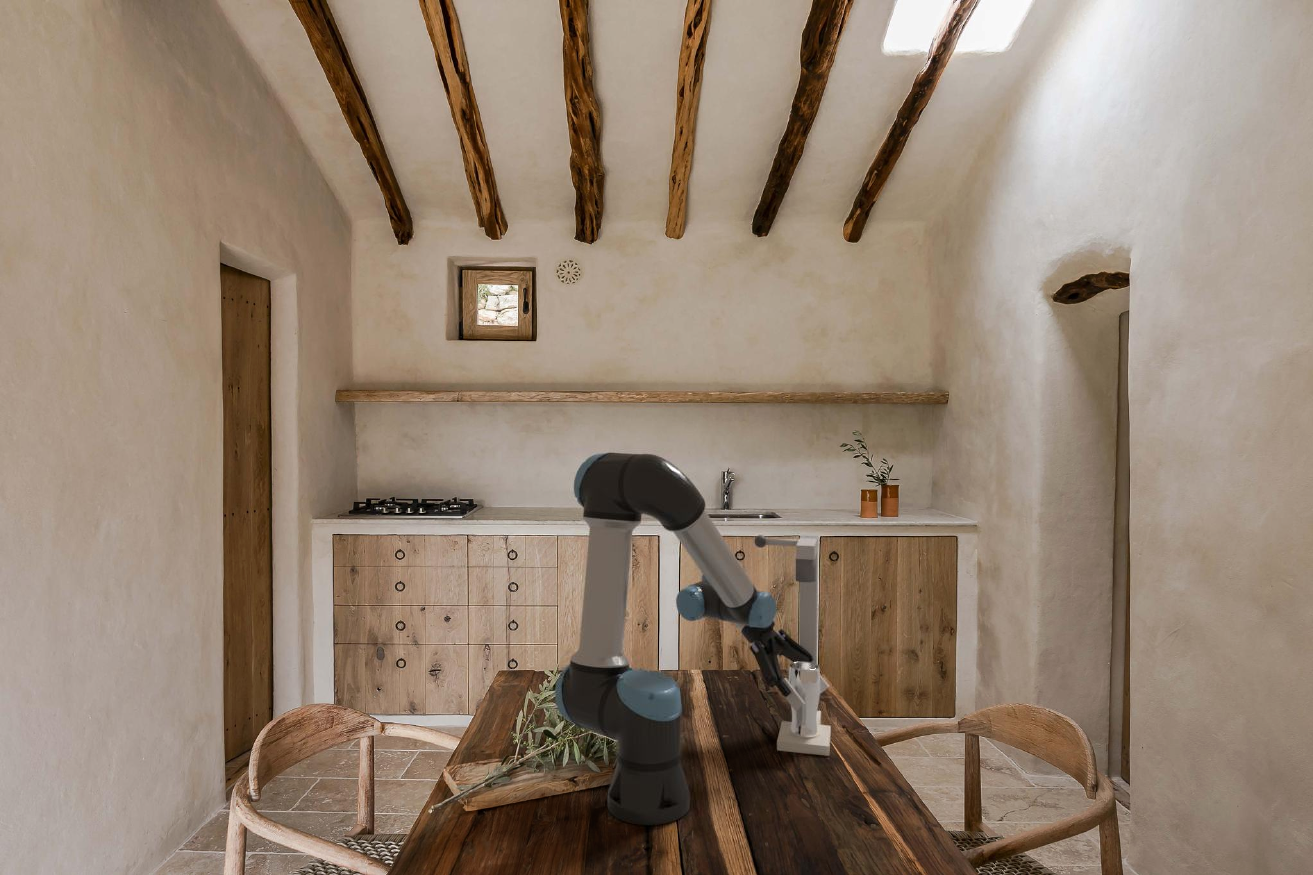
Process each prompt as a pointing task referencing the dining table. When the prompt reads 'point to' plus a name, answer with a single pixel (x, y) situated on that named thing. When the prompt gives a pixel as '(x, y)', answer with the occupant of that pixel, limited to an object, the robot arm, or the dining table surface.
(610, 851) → the dining table surface
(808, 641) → the stand
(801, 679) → the beer glass
